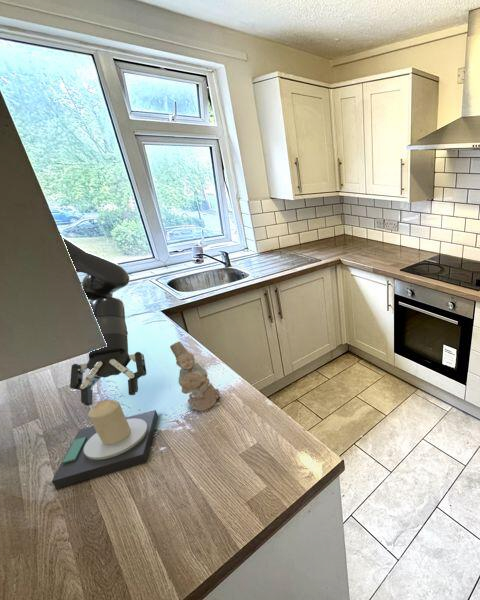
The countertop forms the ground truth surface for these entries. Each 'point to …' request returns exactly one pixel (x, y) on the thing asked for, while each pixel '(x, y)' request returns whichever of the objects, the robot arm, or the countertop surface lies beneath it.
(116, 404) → the candle
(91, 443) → the kitchen scale
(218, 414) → the countertop surface
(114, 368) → the robot arm
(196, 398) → the figurine
